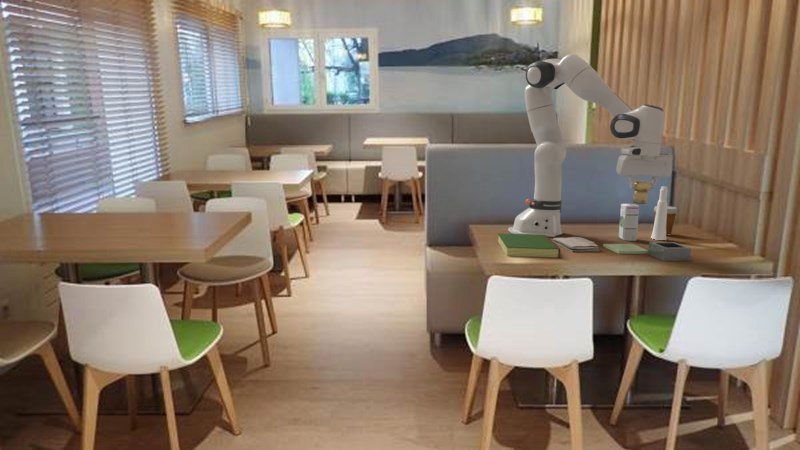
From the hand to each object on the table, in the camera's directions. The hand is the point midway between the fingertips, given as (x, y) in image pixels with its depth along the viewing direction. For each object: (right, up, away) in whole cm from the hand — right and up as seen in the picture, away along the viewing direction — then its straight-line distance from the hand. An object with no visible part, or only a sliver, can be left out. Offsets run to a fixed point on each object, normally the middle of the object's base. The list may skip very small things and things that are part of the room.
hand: (641, 188), depth 218 cm
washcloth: (-21, -23, +10) cm, 33 cm away
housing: (+8, -25, -4) cm, 27 cm away
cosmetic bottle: (+19, -20, +29) cm, 39 cm away
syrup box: (+5, -20, +27) cm, 33 cm away
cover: (0, -5, +1) cm, 5 cm away
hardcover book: (-41, -23, +4) cm, 48 cm away
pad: (-3, -23, +7) cm, 24 cm away
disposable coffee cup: (+25, -18, +39) cm, 50 cm away
